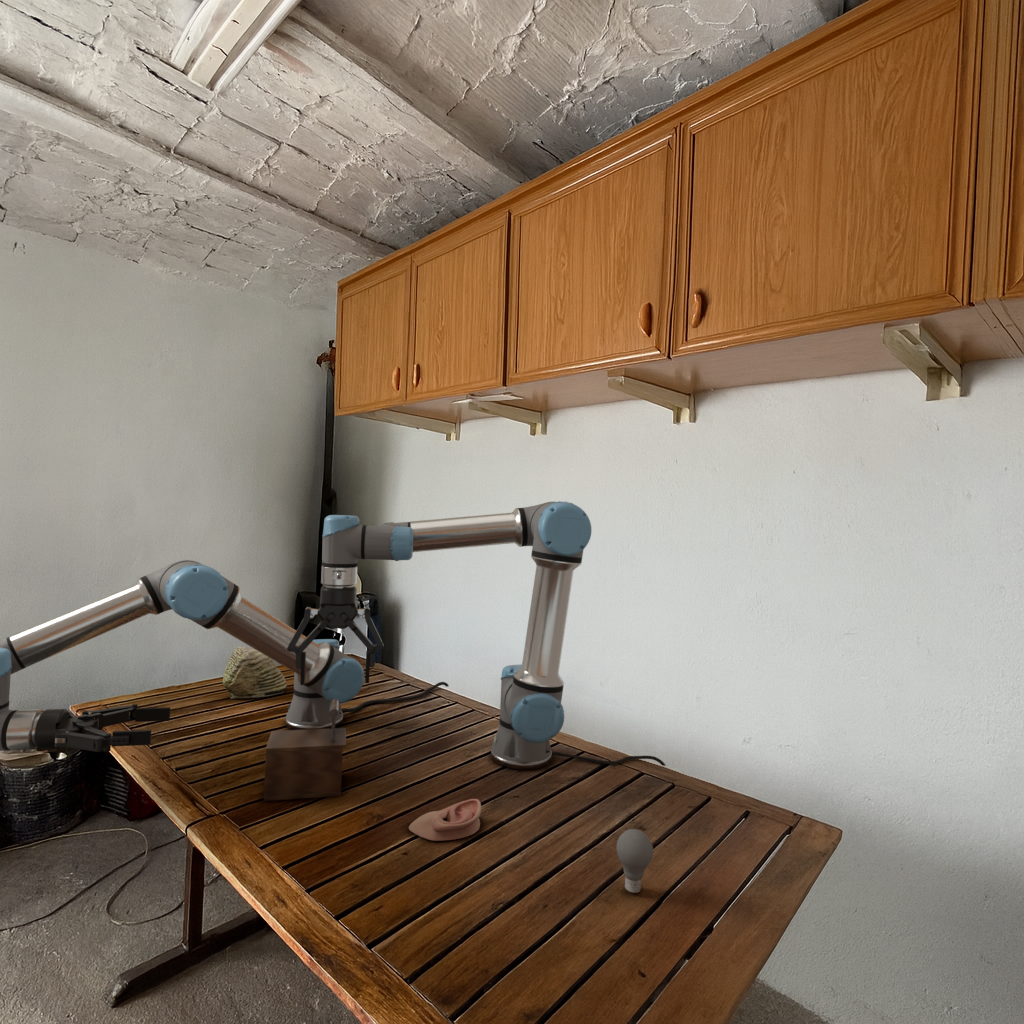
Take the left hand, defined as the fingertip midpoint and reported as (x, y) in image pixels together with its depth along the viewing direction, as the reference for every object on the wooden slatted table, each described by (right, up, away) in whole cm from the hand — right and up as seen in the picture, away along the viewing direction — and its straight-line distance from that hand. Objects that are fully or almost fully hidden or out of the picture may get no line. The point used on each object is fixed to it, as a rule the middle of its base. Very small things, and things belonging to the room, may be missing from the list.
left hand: (160, 725), depth 130 cm
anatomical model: (+59, -18, -6) cm, 62 cm away
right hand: (+34, +6, +8) cm, 35 cm away
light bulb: (+92, -20, -24) cm, 97 cm away
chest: (+27, -16, +7) cm, 32 cm away
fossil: (-8, -13, +68) cm, 70 cm away
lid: (+28, -6, +7) cm, 29 cm away
